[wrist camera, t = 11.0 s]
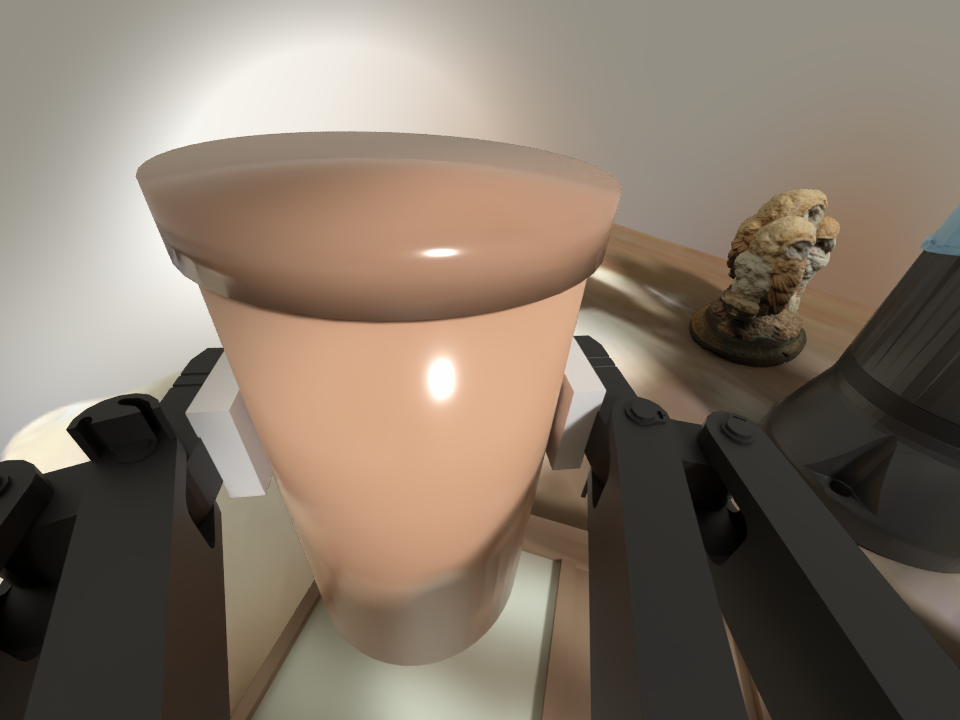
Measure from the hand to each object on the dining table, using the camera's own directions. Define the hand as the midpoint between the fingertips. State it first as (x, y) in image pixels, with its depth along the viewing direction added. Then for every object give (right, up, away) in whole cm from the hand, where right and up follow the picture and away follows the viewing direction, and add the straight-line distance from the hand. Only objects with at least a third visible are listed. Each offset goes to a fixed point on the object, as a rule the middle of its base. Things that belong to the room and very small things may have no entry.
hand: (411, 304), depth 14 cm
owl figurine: (+35, +1, +35) cm, 50 cm away
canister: (0, -9, +1) cm, 9 cm away
